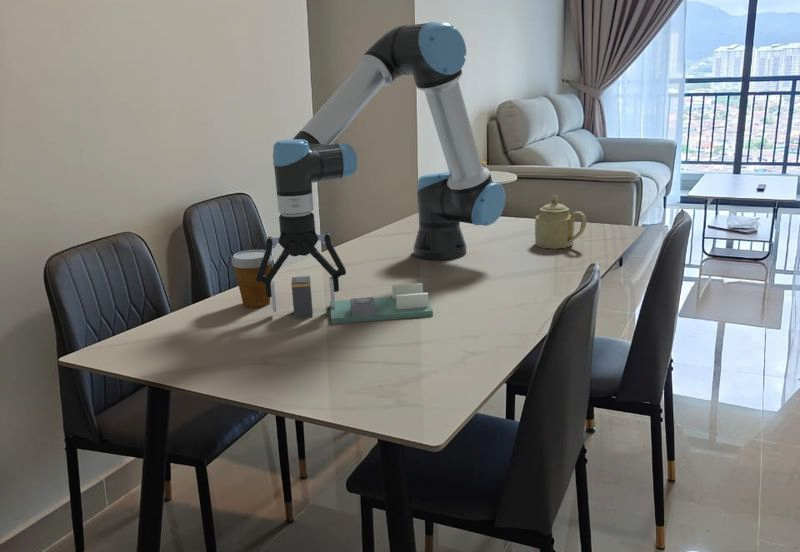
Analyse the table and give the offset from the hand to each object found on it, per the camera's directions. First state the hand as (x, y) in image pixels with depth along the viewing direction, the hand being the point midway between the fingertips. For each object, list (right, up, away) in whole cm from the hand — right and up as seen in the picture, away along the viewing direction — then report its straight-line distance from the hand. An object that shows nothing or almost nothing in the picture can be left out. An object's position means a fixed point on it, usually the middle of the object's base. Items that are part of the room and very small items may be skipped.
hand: (304, 308), depth 159 cm
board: (+17, -1, 0) cm, 17 cm away
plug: (0, -1, 0) cm, 1 cm away
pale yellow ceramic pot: (+69, +16, +51) cm, 87 cm away
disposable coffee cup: (-12, 0, +9) cm, 15 cm away
